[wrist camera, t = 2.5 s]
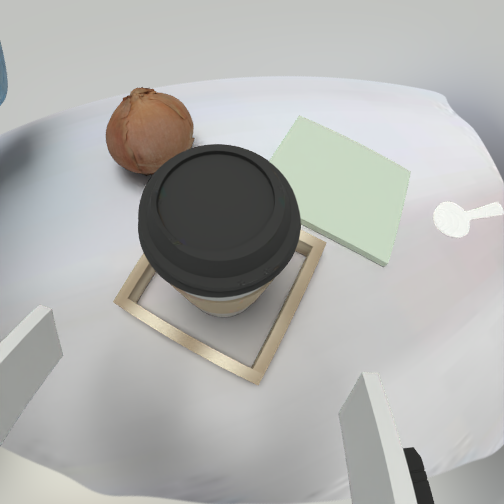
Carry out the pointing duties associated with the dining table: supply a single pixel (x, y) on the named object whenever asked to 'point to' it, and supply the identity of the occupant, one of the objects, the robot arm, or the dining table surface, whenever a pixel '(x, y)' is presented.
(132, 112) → the onion
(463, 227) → the spoon
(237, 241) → the coffee cup
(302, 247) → the picture frame
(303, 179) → the mat
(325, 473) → the dining table surface
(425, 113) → the dining table surface
